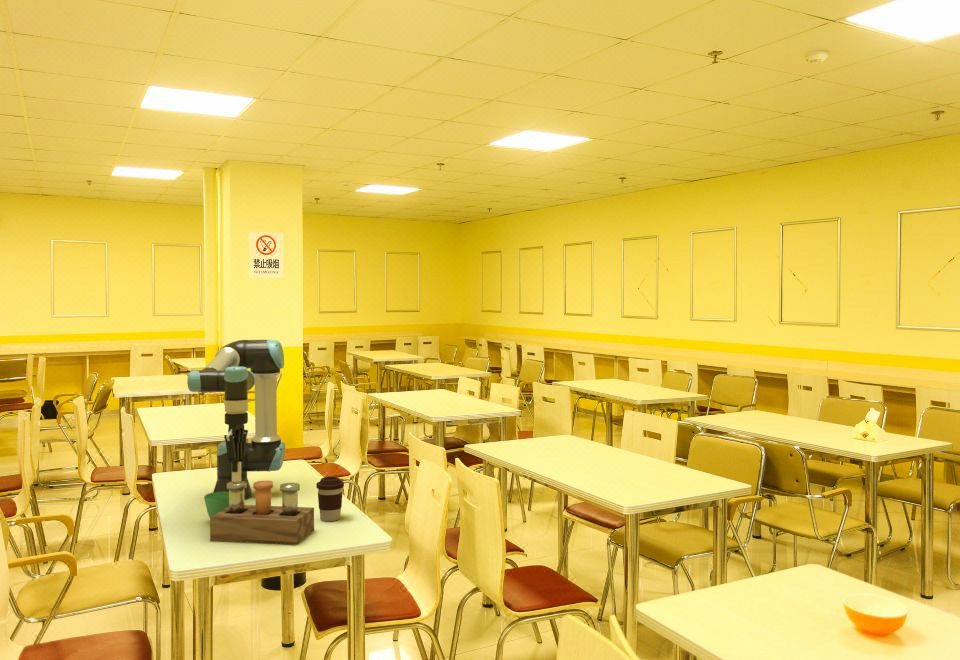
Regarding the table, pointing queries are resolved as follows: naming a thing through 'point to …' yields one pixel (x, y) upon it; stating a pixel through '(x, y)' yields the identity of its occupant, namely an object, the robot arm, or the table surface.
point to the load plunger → (263, 497)
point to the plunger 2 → (289, 498)
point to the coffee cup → (330, 498)
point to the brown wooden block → (262, 526)
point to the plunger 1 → (236, 497)
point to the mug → (216, 502)
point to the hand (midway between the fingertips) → (236, 480)
